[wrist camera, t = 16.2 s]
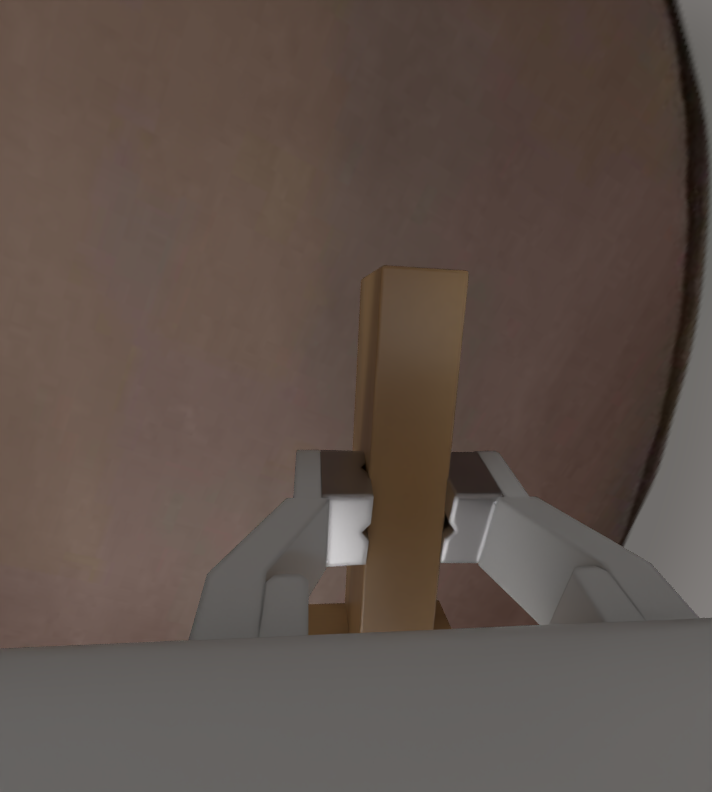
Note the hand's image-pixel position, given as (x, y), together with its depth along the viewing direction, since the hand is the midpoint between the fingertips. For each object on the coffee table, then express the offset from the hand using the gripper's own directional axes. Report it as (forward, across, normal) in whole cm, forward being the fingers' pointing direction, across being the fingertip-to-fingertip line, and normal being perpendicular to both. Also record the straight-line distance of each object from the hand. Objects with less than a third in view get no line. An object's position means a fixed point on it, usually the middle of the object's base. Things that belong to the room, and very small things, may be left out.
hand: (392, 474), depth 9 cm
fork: (0, 0, +5) cm, 5 cm away
